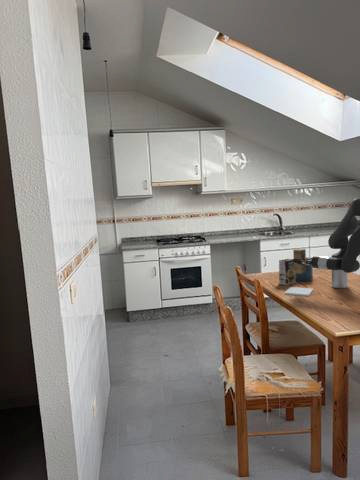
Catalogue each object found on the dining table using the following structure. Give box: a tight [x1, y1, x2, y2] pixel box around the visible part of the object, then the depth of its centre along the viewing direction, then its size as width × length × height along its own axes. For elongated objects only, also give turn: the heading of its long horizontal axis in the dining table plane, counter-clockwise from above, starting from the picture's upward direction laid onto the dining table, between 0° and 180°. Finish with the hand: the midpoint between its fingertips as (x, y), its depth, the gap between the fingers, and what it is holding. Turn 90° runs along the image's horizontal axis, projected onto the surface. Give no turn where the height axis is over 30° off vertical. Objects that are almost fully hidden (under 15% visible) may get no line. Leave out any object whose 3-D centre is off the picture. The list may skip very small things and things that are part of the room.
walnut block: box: [292, 248, 307, 274], centre depth 224 cm, size 5×5×14 cm
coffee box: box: [278, 258, 296, 286], centre depth 248 cm, size 9×6×16 cm
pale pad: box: [284, 286, 314, 297], centre depth 227 cm, size 14×14×1 cm
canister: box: [295, 256, 314, 282], centre depth 257 cm, size 13×13×18 cm
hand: (295, 259), depth 226 cm, fingers closed on walnut block, 5 cm apart
